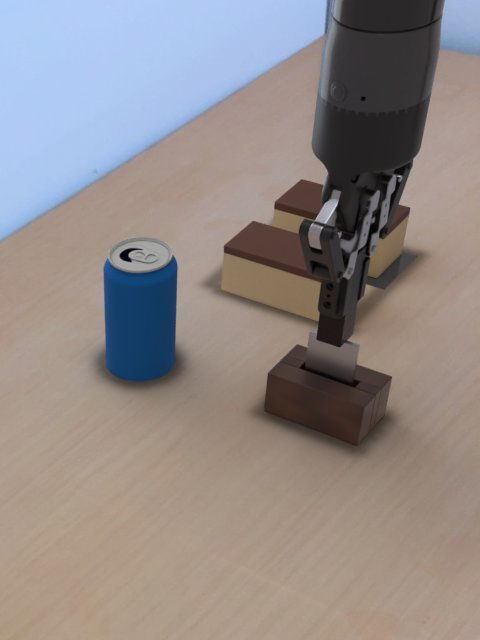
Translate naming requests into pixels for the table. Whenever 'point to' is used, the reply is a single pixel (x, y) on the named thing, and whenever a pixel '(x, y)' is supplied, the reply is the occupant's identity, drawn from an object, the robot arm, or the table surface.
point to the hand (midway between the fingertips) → (340, 305)
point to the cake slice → (270, 270)
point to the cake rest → (307, 205)
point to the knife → (337, 337)
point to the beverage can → (140, 308)
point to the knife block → (326, 398)
